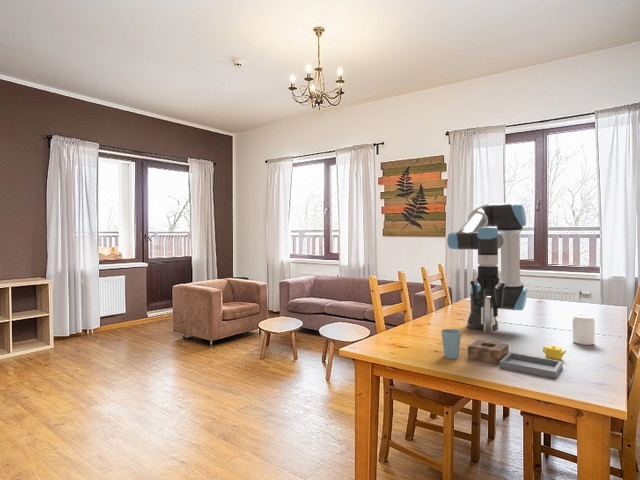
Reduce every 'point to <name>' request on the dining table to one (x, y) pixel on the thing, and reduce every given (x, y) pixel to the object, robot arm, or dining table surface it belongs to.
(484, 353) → the wooden square hole block
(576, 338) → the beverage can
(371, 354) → the dining table surface
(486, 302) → the pin
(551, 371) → the tray
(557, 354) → the teapot
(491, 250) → the robot arm
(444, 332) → the cup
